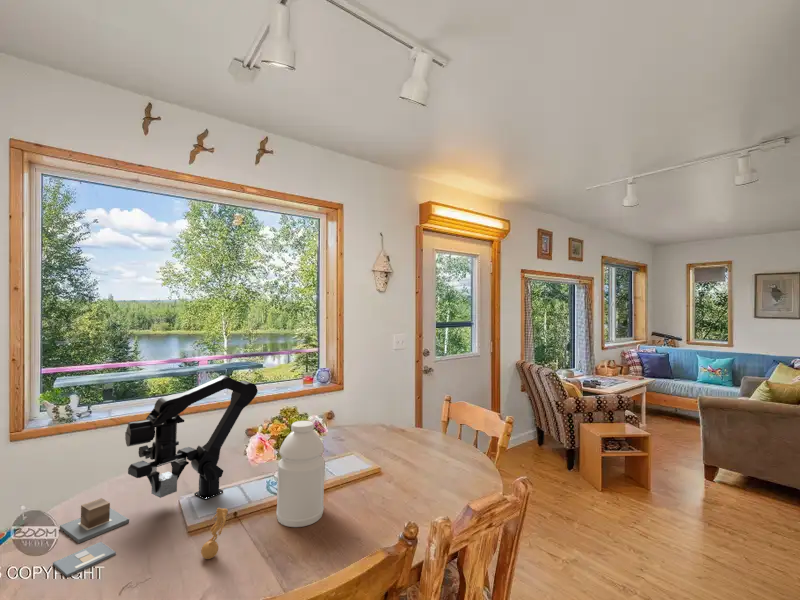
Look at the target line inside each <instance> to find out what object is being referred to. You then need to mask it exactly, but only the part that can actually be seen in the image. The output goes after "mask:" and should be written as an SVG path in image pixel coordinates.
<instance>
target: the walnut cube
mask: <svg viewBox="0 0 800 600" xmlns="http://www.w3.org/2000/svg"><path fill="white" fill-rule="evenodd" d="M110 508H111V502H109V501H107V500H106V499H104V498H102V497H101V498H97V499H95V500H92V501H90V502H87V503H84V504H81V506H80V518H81V524H83V525H84V526H86V527H87V528H92V527H94V526H97V525H99V524H102V523H104V522H107V521H109V517H110Z"/></svg>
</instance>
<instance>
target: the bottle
mask: <svg viewBox="0 0 800 600" xmlns="http://www.w3.org/2000/svg"><path fill="white" fill-rule="evenodd" d="M314 429H315V424H314V422H312V421H310V420H297V421H294V422H292V424H291V425H290V430H291V432H290V433H288V435H287V436H286V437H285V439H284V440H283V441H282V443H281V445H280V448H279V450H278V452H279V453H278V454H279V455H280V456H281V459H279V461H277V487H276V491H277V492H276V493H277V495H276V510H275V511H276V513H275V514H276V518H277V521H278V522H279V524H281V525H282V526H285V527H291V528H301V527H306V526H310V525H312V524H314V523H316V522H319V520H321V518H322V517H323V513H324V509H325V506H324V497H325V496H324V492H325V491H324V490H325V468H326V467H325V465H326V461H325V460H326V459H324V456H323V455H322V454H323V453H324V451H325V447H324V446H325V445H324V443H323V441H322V439H321V438H320V436H319V435H318V433H316V432H315V431H314Z"/></svg>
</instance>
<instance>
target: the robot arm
mask: <svg viewBox="0 0 800 600" xmlns="http://www.w3.org/2000/svg"><path fill="white" fill-rule="evenodd" d="M227 389H228V390H230V391H232V392H231V397H230V402H229V405H228V406H227V409H226V410H225V412H224V413H223V415H222V417H221V419H220V420H219V422H218V424H217V426H216V427H215V429H214V430H213V433H212V434H211V436H210V437H209V440H208V441H207V442H206V443H205V444H204V445H202V446H200V445H198V446H197V447H196V448H193V447H191V446H187V447H183V448H181V449H178V450H177V446H179V443H180V442H179V441H178V440H177V437H178V436H177V433H178V432H177V431H178V424H180V423H185V419H184V418H182V417H181V416H180V415H181V414H182V413H183V412H184V411H186V409H187V408H188V407H189V406H191V405H193V404H195V403H197V402H200V401H202V400H204V399H206V398H208V397H211V396H212V395H215V394H217V393H218V392H221V391H223V390H227ZM257 394H258V388H257V385H256V384H255V383H253V382H249V381H247V380H240V381H239V380H237V379H233V378H232V377H230V376H227V375H225V374H222V375H220V376H218V377H217V378H214V379H212V380H209V381H208V382H205V383H203V384H200V385H198V386H197V387H194V388H191V389H188V390H186V391H184V392H180V393H179V392H178V393H173V394H169V395H165V396H162V397H160V398H158V399H157V400H156V402H155V404H154V408H153V409H152V410H151V411H150V412H149V414H148V415H147V417H146V418H145V420H144V419H143V420H139V421H128V423H127V428H126V431H125V432H124V433H125V437H124V439H125V444H126V447H132V446H137V445H142V444H146V445H142V446H139V447H138V457H139V458H143V457H145V458H144V459H146V460H147V459H150V460H154V461H150V462H148V461H145V460H141V461H137V462H134V463H131V464H130V465H129V466H128V468H127V475H129V476H131V477H133V478H135V479H141V478H144V477H147V479H148V481H149V484H150V486H151V490H152V489H153V491H154V492H155V493H157V490H158V483H159V475H160V474H161V473H160V471H157V470H158V468H159V467H161V466H164V465H167V464H170V466H171V473H173V474H175V475H177V481H178V480H179V479H180V476H181V474H182V473H183V472H184V469H185V468H186V466H187V465H189V464H190V465H191V467H192V469H193V470H194V471H196V472H197V474H199V478H198V491H196V492H194V495H195V494H197V495H199V496H201V497H203V498H206V497H207V498H208V497H211V496H213V495H215V496H217V495H216V494H218V493H220V492H222V493H224V490H223V489H222V488H221V489H220V479H221V478H222V476H223V473H224V470H223V469H222V468H221V467H219V466H218V463H219V459H220V455H221V454H220V453H221V449H222V447H223V445H224V443H225V442H226V439H227V438H228V437H229V434H230V433H231V430H232V429H233V428H234V425H235V424H236V422H237V421H238V419H239V416H240V415H241V413H242V411H243V410H244V409H245V408H246V407H247V406H248V405H249V404H250V403H252V402H253V400H254V398H255V397H257ZM154 439H155V441H154ZM151 441H153V442H152V445H151V447H149V446H148V445H147V443H151ZM187 460H188V461H187ZM189 461H190V462H189ZM220 494H221V493H220ZM218 495H219V494H218ZM199 496H198V497H199ZM201 497H200V498H201ZM213 497H214V496H213ZM203 498H202V499H203ZM211 498H212V497H211Z"/></svg>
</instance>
